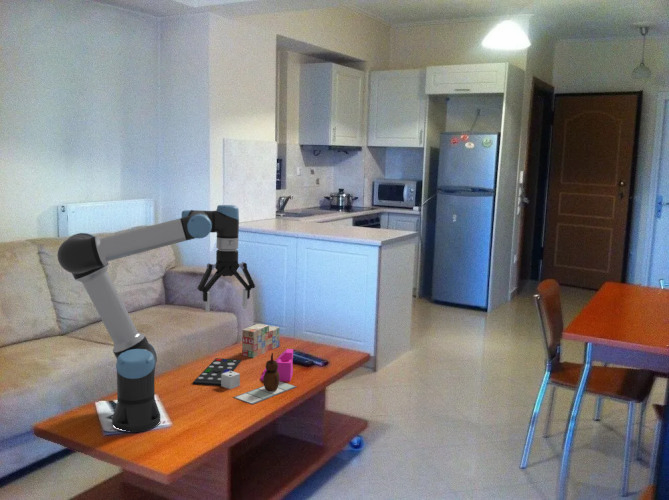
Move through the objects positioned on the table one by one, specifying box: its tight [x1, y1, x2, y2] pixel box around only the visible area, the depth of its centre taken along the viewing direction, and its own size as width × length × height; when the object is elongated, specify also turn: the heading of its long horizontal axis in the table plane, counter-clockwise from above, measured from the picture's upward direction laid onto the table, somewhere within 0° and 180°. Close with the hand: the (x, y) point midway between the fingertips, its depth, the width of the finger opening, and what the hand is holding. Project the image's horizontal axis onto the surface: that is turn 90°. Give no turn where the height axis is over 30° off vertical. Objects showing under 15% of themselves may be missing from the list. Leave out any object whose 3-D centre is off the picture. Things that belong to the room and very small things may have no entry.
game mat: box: [232, 381, 297, 406], centre depth 237 cm, size 24×10×1 cm, turn 142°
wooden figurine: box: [262, 352, 280, 391], centre depth 238 cm, size 7×6×15 cm
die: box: [220, 371, 241, 390], centre depth 242 cm, size 5×5×5 cm
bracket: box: [259, 348, 294, 382], centre depth 254 cm, size 12×10×10 cm
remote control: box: [192, 357, 242, 387], centre depth 257 cm, size 11×30×2 cm, turn 174°
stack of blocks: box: [241, 323, 281, 359], centre depth 287 cm, size 21×6×12 cm, turn 152°
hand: (226, 309), depth 221 cm, fingers open, 13 cm apart
